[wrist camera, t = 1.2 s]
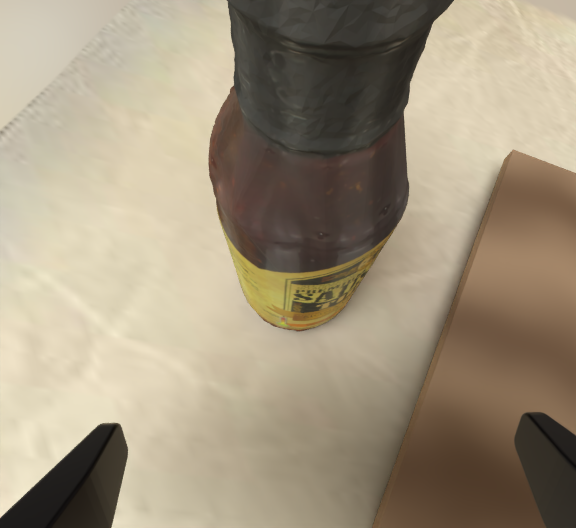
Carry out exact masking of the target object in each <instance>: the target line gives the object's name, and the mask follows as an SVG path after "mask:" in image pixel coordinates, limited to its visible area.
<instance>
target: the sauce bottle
mask: <svg viewBox="0 0 576 528" xmlns="http://www.w3.org/2000/svg"><path fill="white" fill-rule="evenodd" d="M227 1H228V8H229V15H230V20H231V38H232V43H233V47H234V51H235V58H234V61H235V72H234V86H233V87H232V88H231V89H230V94H229V95H228V97H227V99H226V100H225V102H224V103H223V105H222V107H221V109H220V112H219V114H218V115H217V118H216V120H215V125H214V126H213V130H212V134H211V138H210V147H209V172H210V173H209V176H210V179H211V182H212V185H213V190H214V195H215V197H216V204H217V212H218V216H219V219H220V223H221V226H222V229H223V232H224V235H225V238H226V241H227V244H228V247H229V250H230V253H231V256H232V259H233V262H234V265H235V268H236V272H237V275H238V278H239V281H240V284H241V287H242V290H243V293H244V295H245V297H246V299H247V301H248V303H249V304H250V305H251V307H252V308H253V309H254V310H255V311H256V312H257V313H258V315H259V316H260V317H261V318H262V319H263V320H264V321H266V322H268V323H270V324H271V325H273V326H276V327H279V328H283V329H289V330H296V331H303V330H307V329H310V328H314V327H316V326H319V325H321V324H324V323H326V322H327V321H329V320H331V319H332V318H333V317H335V316H336V315H337V314H338V313H339V312H340V311H341V310H342V309H343V308H344V307H345V305H346V304H347V302H348V301H349V299H350V298H351V296H352V295H353V293H354V291H355V290H356V288H357V287H358V285H359V284H360V282H361V281H362V279H363V278H364V276H365V274H366V273H367V271H368V270H369V268H370V267H371V266H372V264H373V262H374V261H375V259H376V257H377V256H378V254H379V253H380V251H381V249H382V248H383V246H384V245H385V243H386V242H387V240H388V239H389V237H390V236H391V234H392V233H393V231H394V229H395V228H396V226H397V224H398V223H399V221H400V220H401V218H402V216H403V213H404V211H405V208H406V205H407V201H408V196H409V182H408V178H407V162H406V144H405V127H404V109H405V107H406V105H407V104H408V98H409V92H410V81H411V79H412V76H413V73H414V70H415V68H416V65H417V63H418V60H419V58H420V56H421V54H422V52H423V50H424V48H425V44H426V40H427V37H428V35H429V32H430V30H431V27H432V24H433V22H434V21H435V20H436V19H437V18H438V17H439V16H440V15H441V14H442V13H443V12H444V11H445V10H447V8H448V7H449V6H450V4H451V3H452V2H453V1H454V0H227Z"/></svg>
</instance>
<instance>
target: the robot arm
mask: <svg viewBox="0 0 576 528" xmlns="http://www.w3.org/2000/svg"><path fill="white" fill-rule="evenodd" d="M514 444H515V448H516V451H517V454H518V457H519V459H520V462H521V465H522V467H523V470H524V473H525V476H526V478H527V481H528V484H529V486H530V489H531V492H532V494H533V497H534V500H535V502H536V505H537V508H538V510H539V513H540V515H541V518H542V520H543V522H544V524H545V526H546V528H576V435H575V434H574V433H572V432H571V431H569V430H568V429H567V428H565V427H564V426H562V425H561V424H560V423H558V422H557V421H555V420H554V419H553V418H551V417H550V416H548V415H547V414H545V413H543V412H525V413H524V414H522V416H521V418H520V421H519V424H518V427H517V430H516V433H515V437H514ZM127 457H128V447H127V444H126V440H125V437H124V434H123V430H122V427H121V425H120V424H119V423H103V424H100V425H98V426H97V427H96V428H95V429H94V430H93V431H92V432H91V433H90V434H89V435H88V436H86V437H85V438H84V439H83V440H82V441H81V442H80V443H79V444H78V445H77V446H76V447H75V448H74V449H73V450H72V451H71V452H70V453H68V454H67V455H66V456H65V457H64V458H63V459H62V460H61V461H60V462H59V463H58V464H57V465H56V466H55V467H54V468H53V469H52V470H50V471H49V472H48V473H47V474H46V475H45V476H44V477H43V478H42V479H41V480H40V481H39V482H38V483H37V484H36V485H35V486H34V487H32V488H31V489H30V490H29V491H28V492H27V493H26V494H25V495H24V496H23V497H22V498H21V499H20V500H19V501H18V502H17V503H16V504H14V505H13V506H12V507H11V508H10V509H9V510H8V511H7V512H6V513H5V514H4V515H3V516H2V517H1V518H0V528H111V527H112V523H113V519H114V514H115V510H116V506H117V501H118V497H119V492H120V488H121V484H122V479H123V475H124V470H125V466H126V462H127Z"/></svg>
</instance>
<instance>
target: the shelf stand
mask: <svg viewBox="0 0 576 528" xmlns="http://www.w3.org/2000/svg"><path fill="white" fill-rule="evenodd" d="M525 412H543V413H545V414H547V415H548V416H550V417H551V418H553V419H554V420H555V421H557V422H558V423H560V424H561V425H562V426H564V427H565V428H567V429H568V430H569V431H571V432H572V433H574V434H575V435H576V173H574V172H571V171H569V170H566V169H563V168H561V167H558V166H555V165H553V164H550V163H547V162H545V161H542V160H539V159H537V158H534V157H531V156H529V155H526V154H524V153H521V152H518V151H516V150H512V152H511V153H510V154H509V155H508V156H507V157H506V158H505V159H504V162H503V165H502V167H501V170H500V173H499V176H498V179H497V181H496V184H495V187H494V190H493V192H492V195H491V198H490V201H489V204H488V206H487V209H486V212H485V215H484V217H483V220H482V223H481V226H480V229H479V231H478V234H477V237H476V240H475V242H474V245H473V248H472V251H471V254H470V256H469V259H468V262H467V265H466V267H465V270H464V273H463V276H462V279H461V281H460V284H459V287H458V290H457V292H456V295H455V298H454V301H453V304H452V306H451V309H450V312H449V315H448V317H447V320H446V323H445V326H444V329H443V331H442V334H441V337H440V340H439V343H438V345H437V348H436V351H435V354H434V356H433V359H432V362H431V365H430V368H429V370H428V373H427V376H426V379H425V381H424V384H423V387H422V390H421V393H420V395H419V398H418V401H417V404H416V406H415V409H414V412H413V415H412V418H411V420H410V423H409V426H408V429H407V431H406V434H405V437H404V440H403V443H402V445H401V448H400V451H399V454H398V456H397V459H396V462H395V465H394V468H393V470H392V473H391V476H390V479H389V481H388V484H387V487H386V490H385V493H384V495H383V498H382V501H381V504H380V506H379V509H378V512H377V515H376V518H375V520H374V523H373V526H372V528H546V526H545V524H544V522H543V520H542V518H541V515H540V513H539V510H538V508H537V505H536V502H535V500H534V497H533V494H532V492H531V489H530V486H529V484H528V481H527V478H526V476H525V473H524V470H523V467H522V465H521V462H520V459H519V457H518V454H517V451H516V448H515V444H514V437H515V433H516V430H517V427H518V424H519V421H520V418H521V416H522V414H524V413H525Z"/></svg>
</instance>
